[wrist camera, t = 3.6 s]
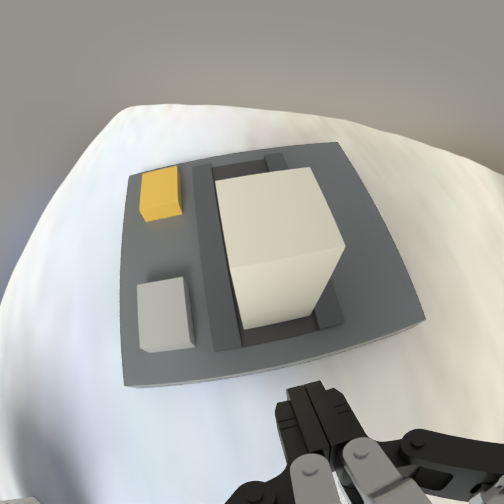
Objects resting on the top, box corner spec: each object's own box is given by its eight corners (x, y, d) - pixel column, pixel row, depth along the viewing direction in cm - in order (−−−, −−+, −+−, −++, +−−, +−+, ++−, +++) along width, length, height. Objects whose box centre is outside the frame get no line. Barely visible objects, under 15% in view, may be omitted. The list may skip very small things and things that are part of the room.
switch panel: (333, 157, 26) (340, 130, 23) (412, 327, 17) (437, 312, 14) (136, 190, 25) (123, 164, 22) (137, 388, 16) (112, 383, 13)
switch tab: (292, 258, 18) (309, 167, 11) (309, 315, 16) (345, 246, 9) (232, 269, 18) (215, 181, 11) (243, 329, 16) (229, 268, 9)
